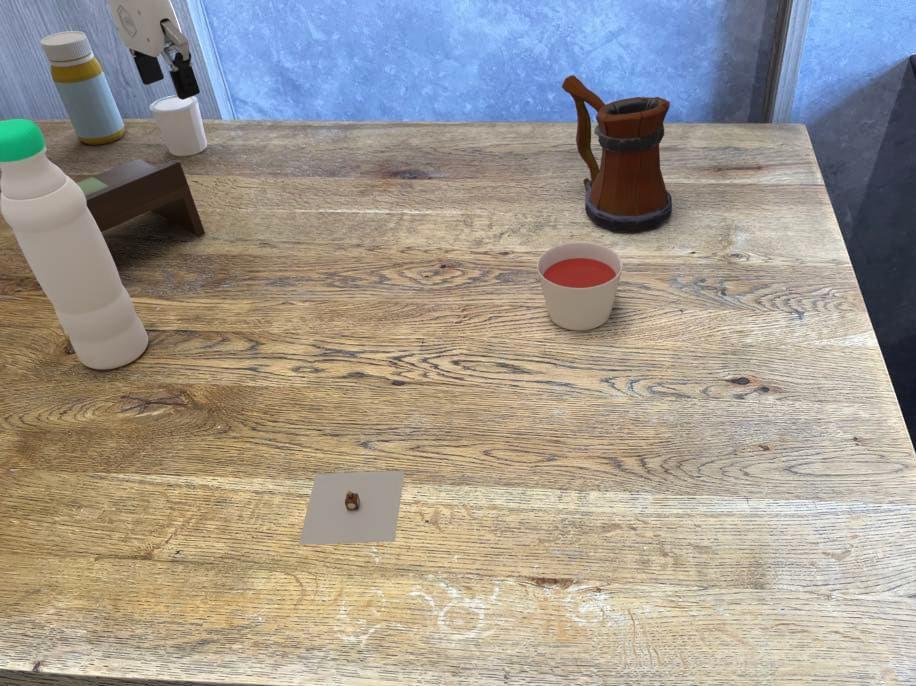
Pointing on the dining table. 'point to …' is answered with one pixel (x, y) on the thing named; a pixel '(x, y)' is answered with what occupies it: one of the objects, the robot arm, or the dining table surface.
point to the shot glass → (180, 124)
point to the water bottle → (66, 251)
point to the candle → (579, 283)
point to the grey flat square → (353, 508)
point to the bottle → (83, 88)
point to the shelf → (142, 195)
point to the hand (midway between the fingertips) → (171, 88)
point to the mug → (623, 160)
